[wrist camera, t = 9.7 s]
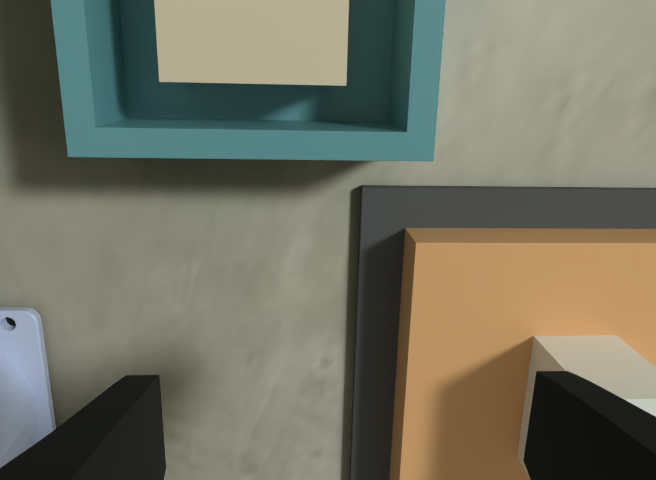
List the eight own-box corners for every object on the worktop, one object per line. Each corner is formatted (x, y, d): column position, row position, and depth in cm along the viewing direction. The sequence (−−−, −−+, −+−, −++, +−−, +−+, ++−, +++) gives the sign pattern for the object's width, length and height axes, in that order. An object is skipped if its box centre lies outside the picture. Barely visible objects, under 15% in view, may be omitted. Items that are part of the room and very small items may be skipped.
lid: (388, 500, 24) (418, 632, 18) (405, 227, 20) (448, 288, 15) (658, 491, 24) (766, 616, 19) (719, 228, 21) (873, 286, 15)
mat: (347, 527, 24) (348, 535, 24) (361, 185, 20) (362, 187, 20) (680, 517, 25) (686, 524, 25) (761, 189, 21) (769, 191, 21)
